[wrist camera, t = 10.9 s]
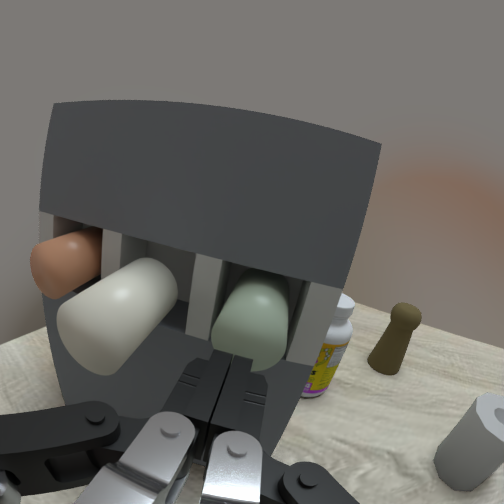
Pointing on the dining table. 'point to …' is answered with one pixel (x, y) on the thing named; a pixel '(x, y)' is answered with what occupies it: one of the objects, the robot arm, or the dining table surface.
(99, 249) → the button terracotta
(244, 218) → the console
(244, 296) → the button sage
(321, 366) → the supplement bottle
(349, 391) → the dining table surface
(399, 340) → the brown pawn
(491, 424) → the toilet tissue
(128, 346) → the button cream
